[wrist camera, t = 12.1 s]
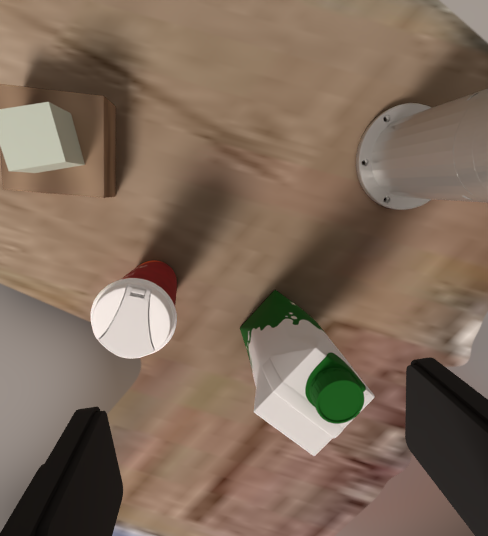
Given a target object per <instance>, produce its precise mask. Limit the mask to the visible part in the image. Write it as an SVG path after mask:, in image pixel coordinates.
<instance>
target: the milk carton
mask: <svg viewBox="0 0 488 536" xmlns="http://www.w3.org/2000/svg"><path fill="white" fill-rule="evenodd" d="M240 330H241V333H242V336H243V340H244V343H245V346H246V349H247V352H248V355H249V360H250V364H251V368H252V372H253V376H254V381H255V385H256V395H255V405H254V413H256V414H257V415H258V416H260V417H261V418H262V419H264V420H265V421H266V422H268V423H269V424H271V425H272V426H273V427H275V428H276V429H277V430H279V431H280V432H281V433H283V434H284V435H286V436H287V437H288V438H290V439H291V440H292V441H294V442H295V443H297V444H298V445H299V446H301V447H302V448H303V449H305V450H306V451H307V452H309V453H310V454H312V455H313V456H315V455H316V454H317V453H318V452H319V451H320V450H321V449H322V448H323V447H324V446H325V445H326V444H327V443H328V442H329V441H330V440H331V439H332V438H336V437H337V436H338V435H339V434H340V433H341V432H342V431H343V429H344V428H345V427H346V426H347V425H348V424H349V423H350V422H351V421H352V420H353V419H354V418H355V417H356V416H357V415H358V414H359V413H360V412H361V411H362V410H363V409H364V408H365V407H366V406H367V405H368V404H369V403H370V402H371V401H372V399H373V398H374V394H373V393H372V392H371V391H370V389H369V388H368V387H367V386H366V384H365V383H364V382H363V380H362V379H361V378H360V377H359V375H358V374H357V373H356V372H355V370H354V369H353V368H352V366H351V365H350V364H349V363H348V361H347V360H346V359H345V357H344V356H343V355H342V354H341V352H340V351H339V350H338V348H337V347H336V346H335V345H334V343H333V342H332V341H331V340H330V338H329V337H328V336H327V335H326V333H325V332H324V331H323V330H322V328H321V327H320V326H319V325H318V323H317V322H316V321H315V320H314V319H313V318H312V317H310V316H309V315H308V314H307V313H306V312H305V311H304V310H302V309H301V308H300V307H299V306H297V305H296V304H295V303H293V302H292V301H290V300H289V299H287V298H286V297H285V296H283V295H282V294H280V293H279V292H278V291H276V290H274V291H273V292H272V293H271V295H270V296H269V297H268V298H267V299H266V300H265V301H264V302H263V303H262V304H261V305H260V306H259V308H258V309H257V310H256V311H255V312H254V313H253V314H252V315H251V316H250V317H249V318H248V319H247V321H246V322H245V323H244V324H243V325H242V326H241V327H240Z"/></svg>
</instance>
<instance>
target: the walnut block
mask: <svg viewBox="0 0 488 536" xmlns="http://www.w3.org/2000/svg"><path fill="white" fill-rule="evenodd" d="M44 102H50V103H52V104H54V105H56V106H58V107H60V108H62V109H63V110H65V111H67V112H69V113H71V115H72V119H73V123H74V126H75V130H76V134H77V137H78V141H79V145H80V148H81V152H82V156H83V159H84V163H85V165H81V166H75V167H69V168H63V169H57V170H51V171H45V172H39V173H28V172H13V171H8V168H7V165H6V162H5V158H4V155H3V152H2V149H1V146H0V154H1V169H2V184H3V189H4V190H16V191H28V192H41V193H53V194H65V195H77V196H90V197H102V198H105V197H115V161H116V106H115V105H114V104H112V103H111V102H110V101H109V100H108V99H107V98H106V97H104V96H101V95H92V94H84V93H75V92H66V91H57V90H49V89H40V88H31V87H23V86H14V85H5V84H0V109H5V108H12V107H18V106H24V105H31V104H37V103H44Z"/></svg>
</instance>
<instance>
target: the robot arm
mask: <svg viewBox="0 0 488 536" xmlns="http://www.w3.org/2000/svg"><path fill="white" fill-rule="evenodd" d="M383 118H384V119H385V122H384V119H383ZM362 161H363V162H364V164H363V165H362ZM356 169H357V176H358V179H359V181H360V184H361V186H362V188H363V189H364V191H365V193H366V194H367V195H368V196H369V197H370V198H371V199H372V200H373V201H375V202H376V203H377V204H379V205H381V206H384V207H386V208H391V209H397V210H406V209H413V208H416V207H419V206H422V205H424V204H425V203H427V202H429V201H430V200H432V199H437V200H453V201H470V202H486V203H488V88H487V89H484V90H481V91H479V92H476V93H473V94H470V95H467V96H464V97H461V98H458V99H456V100H453V101H450V102H447V103H444V104H441V105H438V106H435V107H433V108H432V107H430V106H428V105H424V104H420V103H406V104H401V105H397V106H395V107H392V108H390V109H388V110H386V111H385V112H383V113H381V114H380V115H379V116H378V117H376V118H375V119H374V120H373V121H372V122H371V124H370V125H369V126H368V127H367V129H366V130H365V132H364V134H363V135H362V138H361V140H360V143H359V145H358V150H357V155H356ZM384 198H385V201H384ZM405 437H406V443H407V446H408V448H409V450H410V451H411V452H412V454H413V455H414V456H415V458H416V459H417V460H418V461H419V463H420V464H421V465H422V467H423V468H424V469H425V471H426V472H427V473H428V475H429V476H430V477H431V479H432V480H433V481H434V482H435V484H436V485H437V486H438V488H439V489H440V490H441V491H442V493H443V494H444V496H445V497H446V498H447V500H448V501H449V502H450V503H451V505H452V506H453V507H454V509H455V510H456V511H457V513H458V514H459V515H460V517H461V518H462V519H463V520H464V522H465V523H466V524H467V525H468V527H469V528H470V530H471V531H472V532H473V533H474V535H475V536H488V399H486V398H484V397H483V396H482V395H481V394H480V393H478V392H477V391H475V390H474V389H473V388H472V387H470V386H469V385H468V384H467V383H465V382H464V381H463V380H461V379H460V378H459V377H457V376H456V375H455V374H453V373H452V372H451V371H450V370H448V369H447V368H446V367H444V366H443V365H442V364H440V363H439V362H438V361H436V360H435V359H434V358H423V359H417V360H413V361H412V362H411V365H409V366H408V367H407V371H406V432H405ZM122 496H123V484H122V479H121V475H120V470H119V466H118V462H117V457H116V453H115V448H114V444H113V439H112V435H111V431H110V426H109V422H108V417H107V414H106V412H105V411H100V409H99V407H92V408H85V409H79V410H76V412H75V413H74V415H73V416H72V418H71V420H70V422H69V423H68V425H67V427H66V428H65V430H64V432H63V433H62V435H61V437H60V439H59V440H58V442H57V444H56V446H55V447H54V449H53V451H52V452H51V454H50V456H49V458H48V459H47V461H46V462H45V464H43V465H42V466H41V467H40V468H39V469H38V471H37V472H36V474H35V476H34V477H33V479H32V481H31V483H30V484H29V486H28V488H27V489H26V491H25V493H24V494H23V496H22V498H21V499H20V501H19V503H18V504H17V506H16V508H15V509H14V511H13V513H12V514H11V516H10V518H9V519H8V521H7V523H6V524H5V526H4V528H3V530H2V531H1V533H0V536H112V534H113V530H114V526H115V523H116V519H117V516H118V512H119V508H120V505H121V501H122Z"/></svg>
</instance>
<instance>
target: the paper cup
mask: <svg viewBox="0 0 488 536" xmlns="http://www.w3.org/2000/svg"><path fill="white" fill-rule="evenodd" d="M176 291H177V279H176V275H175V273H174V271H173V270H172V268H171V267H170V266H169V265H167V264H166V263H164V262H161V261H156V260H152V261H147V262H144V263H142V264H141V265H139V266H138V267H136V268H135V269H133V270H132V271H131V272H130V273H128V274H127V275H126V276H124V277H123V278H122V279H121V280H118V281H115V282H113V283H111V284H109V285H108V286H106V287H105V288H104V289H103V290H102V291H101V292H100V293H99V294H98V295H97V297H96V298H95V300H94V302H93V305H92V309H91V324H92V328H93V332H94V334H95V336H96V338H97V339H99V340H98V341H99V342H100V343H101V344H102V345H103V346H104V347H105V348H107V350H109V351H111V352H112V353H114V354H115V355H117V356H119V357H123V358H131V359H132V358H140V357H143V356H146V355H149V354H152V353H154V352H156V351H158V350H160V349H161V348H162V347H164V346H165V345H166V344H167V343H168V341H169V340H170V339H171V337H172V335H173V334H174V331H175V328H176V323H177V314H176V309H175V301H176Z"/></svg>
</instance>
